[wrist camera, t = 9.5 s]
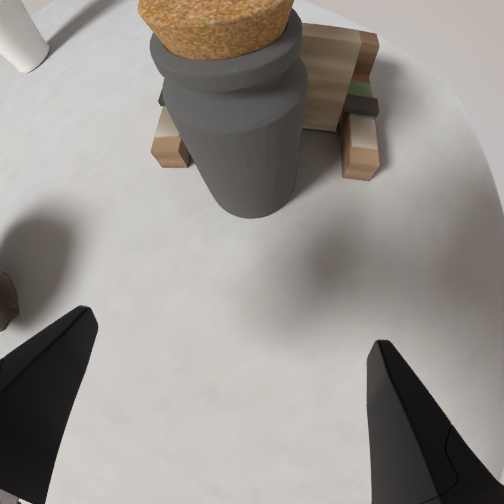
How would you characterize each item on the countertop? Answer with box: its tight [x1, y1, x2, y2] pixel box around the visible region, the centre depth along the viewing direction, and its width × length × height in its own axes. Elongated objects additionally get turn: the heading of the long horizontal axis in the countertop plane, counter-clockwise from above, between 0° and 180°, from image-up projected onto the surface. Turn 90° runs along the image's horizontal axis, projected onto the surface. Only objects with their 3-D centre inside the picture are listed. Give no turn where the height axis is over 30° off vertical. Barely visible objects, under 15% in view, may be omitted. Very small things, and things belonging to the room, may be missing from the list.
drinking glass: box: [0, 0, 50, 73], centre depth 19 cm, size 7×7×15 cm
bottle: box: [138, 0, 308, 219], centre depth 13 cm, size 6×6×15 cm
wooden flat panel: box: [158, 23, 379, 131], centre depth 17 cm, size 1×15×9 cm, turn 84°
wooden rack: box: [151, 31, 380, 181], centre depth 19 cm, size 10×15×6 cm, turn 85°
